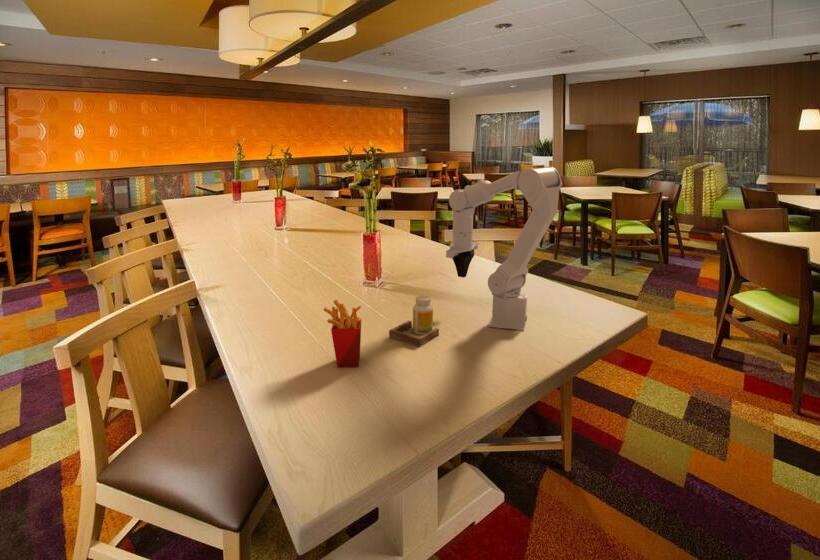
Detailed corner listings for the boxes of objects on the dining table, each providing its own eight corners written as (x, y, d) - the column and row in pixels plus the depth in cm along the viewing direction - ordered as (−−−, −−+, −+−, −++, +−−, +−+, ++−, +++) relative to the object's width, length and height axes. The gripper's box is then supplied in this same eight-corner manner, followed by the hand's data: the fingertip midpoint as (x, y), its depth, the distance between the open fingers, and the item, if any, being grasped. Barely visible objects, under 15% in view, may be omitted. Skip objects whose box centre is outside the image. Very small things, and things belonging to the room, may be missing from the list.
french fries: (364, 355, 116) (361, 297, 112) (362, 372, 108) (359, 309, 104) (327, 357, 116) (323, 298, 112) (322, 373, 108) (318, 310, 104)
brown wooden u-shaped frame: (408, 327, 133) (408, 320, 132) (438, 335, 127) (438, 328, 126) (389, 337, 126) (389, 330, 126) (419, 346, 121) (419, 339, 120)
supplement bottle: (408, 331, 130) (408, 298, 127) (422, 325, 134) (422, 293, 131) (423, 337, 126) (423, 302, 124) (436, 331, 130) (437, 297, 127)
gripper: (464, 226, 147) (463, 269, 151) (437, 234, 136) (437, 280, 140) (484, 228, 142) (483, 272, 146) (458, 237, 132) (457, 284, 135)
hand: (462, 276), depth 143 cm, fingers closed
